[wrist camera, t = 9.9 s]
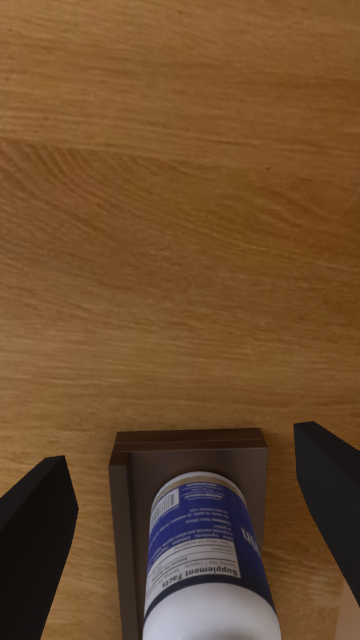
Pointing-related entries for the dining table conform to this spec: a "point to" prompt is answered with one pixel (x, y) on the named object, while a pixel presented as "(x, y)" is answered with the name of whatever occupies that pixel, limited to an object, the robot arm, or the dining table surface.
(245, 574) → the pill bottle
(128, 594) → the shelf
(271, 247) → the dining table surface
